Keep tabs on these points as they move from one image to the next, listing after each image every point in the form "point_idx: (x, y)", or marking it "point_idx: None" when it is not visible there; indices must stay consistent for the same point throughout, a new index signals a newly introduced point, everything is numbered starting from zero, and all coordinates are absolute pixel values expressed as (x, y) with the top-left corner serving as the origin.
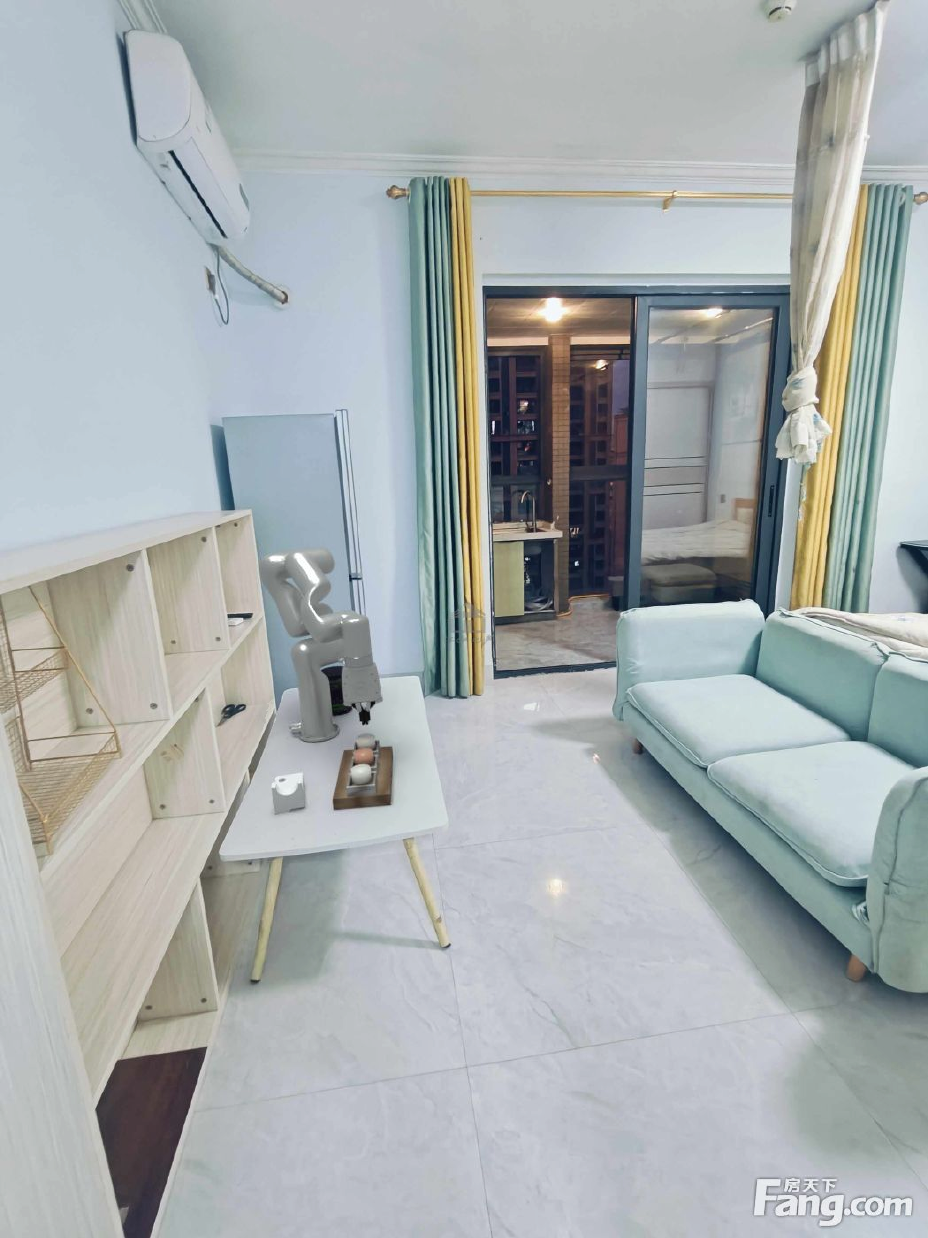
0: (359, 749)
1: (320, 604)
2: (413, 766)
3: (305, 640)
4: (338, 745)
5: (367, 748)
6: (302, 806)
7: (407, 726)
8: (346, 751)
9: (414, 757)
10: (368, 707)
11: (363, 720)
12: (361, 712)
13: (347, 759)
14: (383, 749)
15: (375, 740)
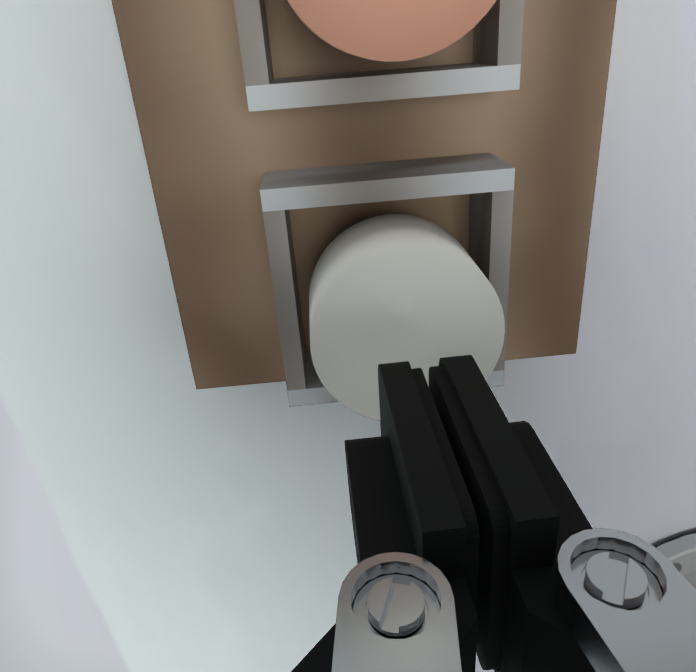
0: (455, 15)
1: None
2: (2, 179)
3: None
4: (587, 490)
5: (350, 36)
6: None
7: (192, 664)
8: (554, 331)
9: (38, 315)
10: (382, 648)
11: (463, 402)
12: (544, 517)
13: (544, 197)
14: (258, 343)
15: (324, 401)
